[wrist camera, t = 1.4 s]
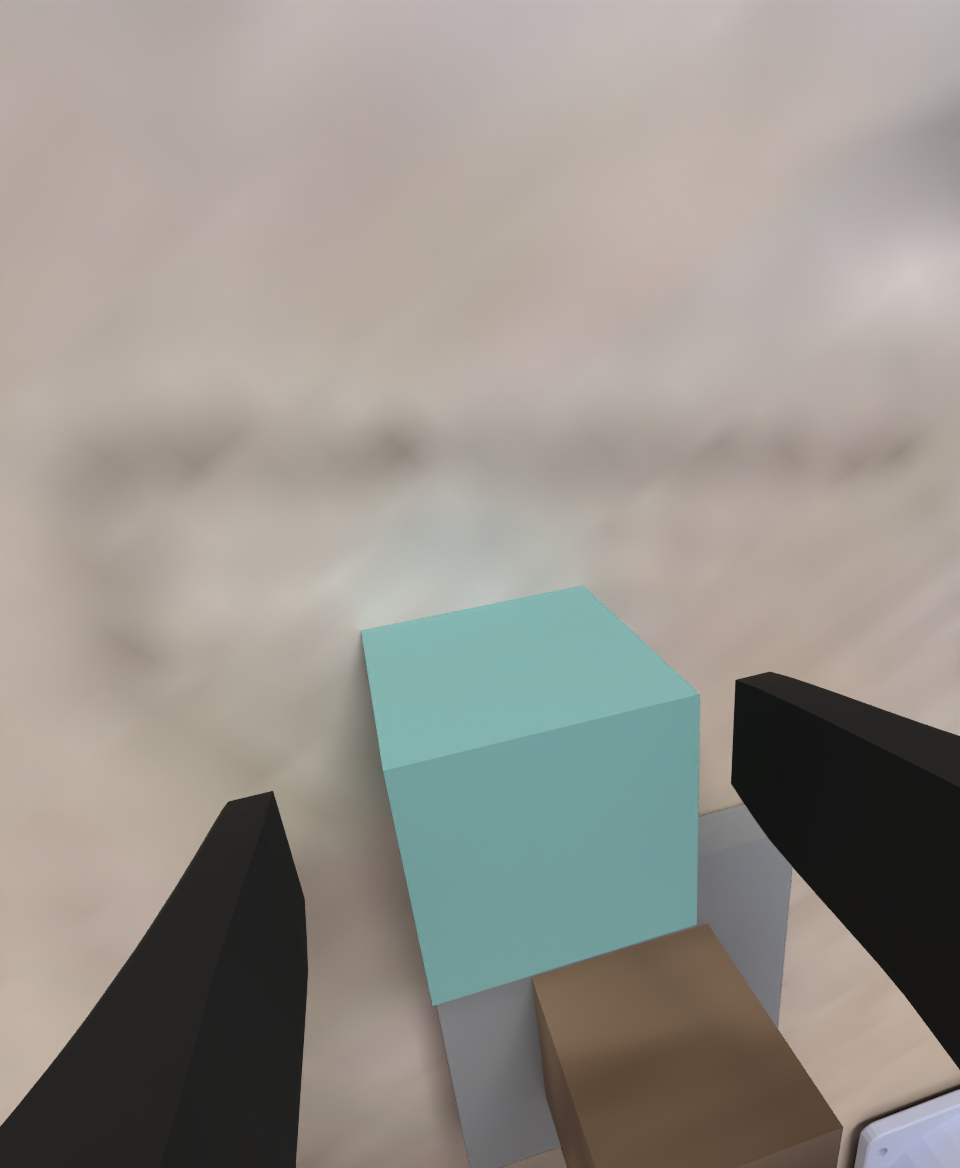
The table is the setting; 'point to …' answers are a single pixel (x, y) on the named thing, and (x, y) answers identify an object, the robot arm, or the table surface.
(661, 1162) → the walnut block
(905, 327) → the table surface
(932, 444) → the table surface
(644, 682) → the teal block
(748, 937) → the base plate
